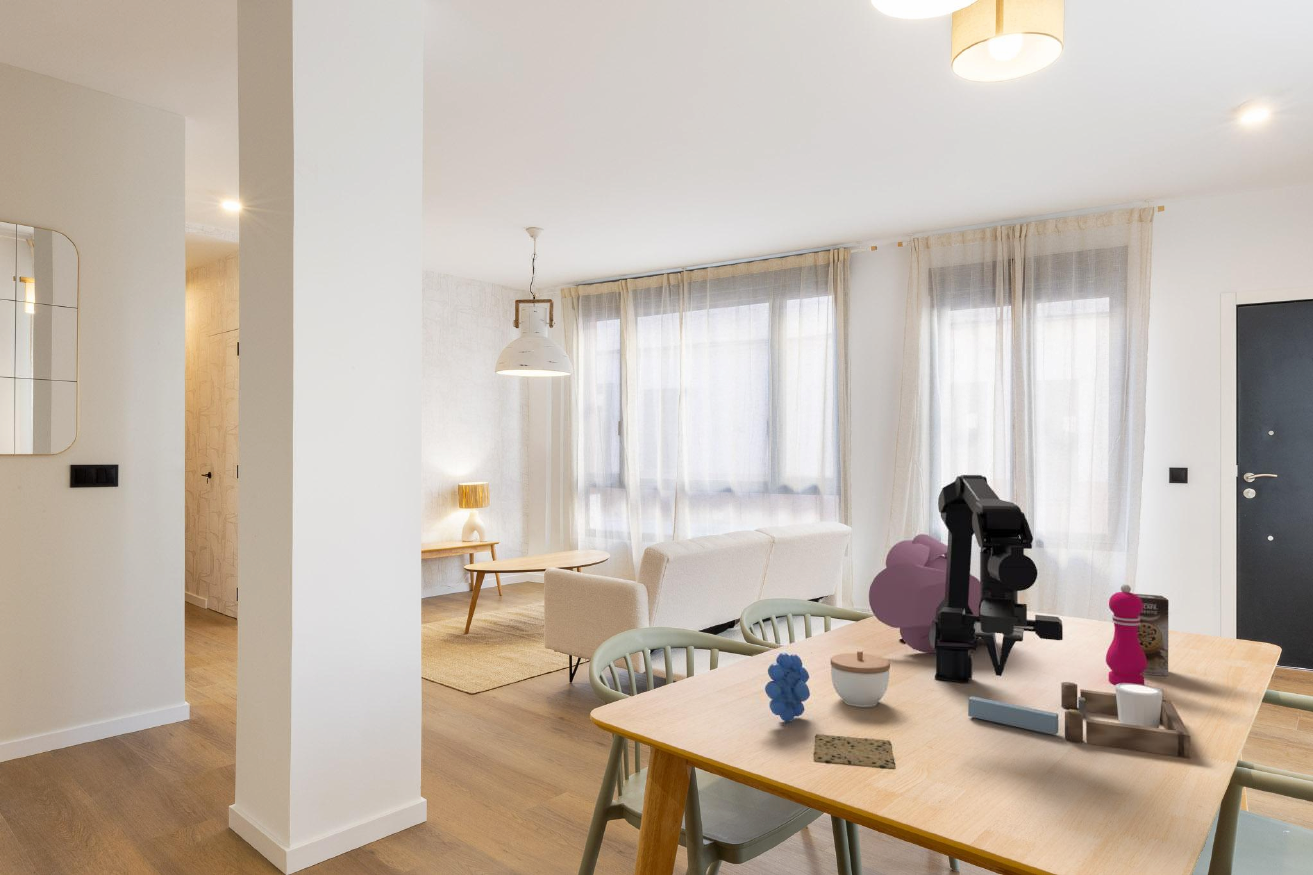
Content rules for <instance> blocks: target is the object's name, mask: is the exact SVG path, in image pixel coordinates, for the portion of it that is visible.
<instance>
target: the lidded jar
mask: <svg viewBox="0 0 1313 875" xmlns="http://www.w3.org/2000/svg"><path fill="white" fill-rule="evenodd" d="M830 665H831V666H830V673H831V675H830V676H831V681H832V686H833V688H834V691H835V692H836V694H837V695H838V696H839V697H840V698H841V700H842V702H843V703H844V704H845V705H848V706H851V707H857V708H871V707H875V706H877V705H878V702H879V701H881V700H882V699H883V698H884V696H885V694H886V693H887V690H888V686H889V683H890V668H891V663H890V661H889V659H886V658H884V657H882V656H879V655H875V654H868V653H864V651H862V650H857V652H853V653H852V652H848V653H839V654H835V655H833V656H831V658H830Z"/></svg>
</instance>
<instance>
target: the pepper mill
mask: <svg viewBox="0 0 1313 875" xmlns="http://www.w3.org/2000/svg"><path fill="white" fill-rule="evenodd" d="M1131 590H1132V588H1131V586H1130V585H1129V584H1122V585H1121V586H1120V591H1118V593H1116V592H1115V593H1114V594H1112V595H1111V596H1110V597H1109V600H1108V607H1109V610H1110V611H1111V612H1112V613H1113V614H1112V615H1111V618H1112V619H1111V622H1112V623H1113V625H1114V631H1113V639H1112V640H1111V643H1110V645H1109V647H1108V649H1107V651H1106V653H1105V654H1106V655H1105V663H1106V665H1107V666H1108V667H1109V668H1110V671H1109V672H1108V682H1109V683H1110V684H1112V685H1114V686H1115V685H1117V684H1122V683H1130V684H1140V685H1145V676H1144V675H1143V673H1142V672H1144V671H1145V670H1146V668H1147V660H1146V656H1145V654H1144V652H1143V650H1142V648H1141V645H1140V643H1139V640H1138V632H1137V631H1138V625H1140V621H1139V620H1140V618H1139V617H1138V616H1139V614H1140V613H1141V612H1142V610H1143V603H1142V600H1141V599H1140V598H1139V597H1138V596H1137V595H1135V594H1136V593H1133V592H1131Z"/></svg>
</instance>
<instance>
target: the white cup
mask: <svg viewBox="0 0 1313 875" xmlns="http://www.w3.org/2000/svg"><path fill="white" fill-rule="evenodd" d="M1114 688H1115V694H1116V699H1117V708H1118V715H1117V718H1118V723H1122V724H1129V725H1137V726H1144V727H1152V728H1159V729H1160V724H1161V723H1160V722H1161V721H1160V713H1161V703H1162V699H1163V691H1162V689H1159V688H1157V687H1152V686H1148V685H1145V684H1144V685H1140V684H1130V683H1122V684H1117V685H1115V684H1114Z"/></svg>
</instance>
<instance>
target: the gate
mask: <svg viewBox="0 0 1313 875" xmlns="http://www.w3.org/2000/svg"><path fill="white" fill-rule="evenodd" d="M967 701H968V702H967V706H968V707H967V709H968V710H967V712H968V714H967V715H968V717H972V718H975V719H976V718H977V719H981V720H986V721H991V722H995V723H999V724H1004V725H1009V726H1013V727H1016V728H1017V727H1018V728H1021V729H1027V730H1029V731H1030V730H1031V731H1035V732H1040V733H1045V734H1050V735H1054V736H1056V735H1057V734H1058V733H1059V713H1058V712H1052V711H1046V710H1041V709H1037V708H1032V707H1031V708H1030V707H1027V706H1021V705H1016V704H1012V703H1007V702H1002V701H998V700H997V701H996V700H993V699H987V698H982V697H977V696H970V697H968V700H967Z"/></svg>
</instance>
